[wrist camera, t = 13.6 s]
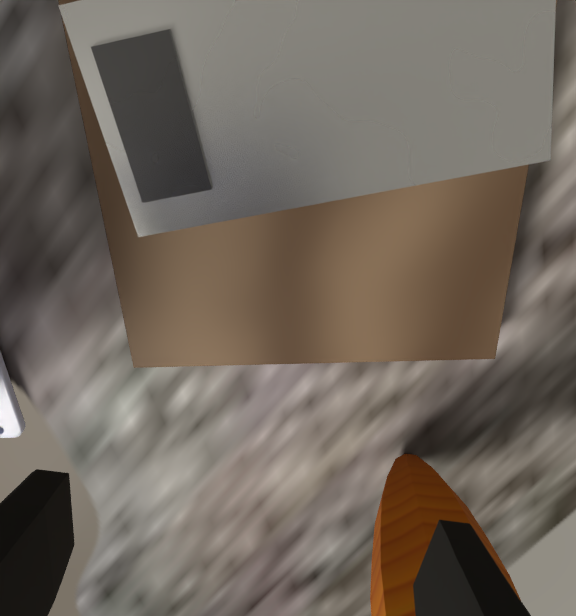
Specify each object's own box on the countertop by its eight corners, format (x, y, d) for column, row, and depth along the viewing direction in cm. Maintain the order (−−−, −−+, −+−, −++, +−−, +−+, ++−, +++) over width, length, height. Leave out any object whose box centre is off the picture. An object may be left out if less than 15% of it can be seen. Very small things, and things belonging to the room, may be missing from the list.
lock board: (143, 345, 21) (132, 370, 19) (-9, -453, 11) (-55, -525, 10) (482, 337, 21) (496, 361, 19) (612, -493, 11) (662, -572, 10)
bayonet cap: (446, 152, 16) (550, 242, 9) (212, 197, 16) (161, 309, 10) (431, -122, 13) (568, -261, 6) (145, -53, 13) (13, -116, 7)
